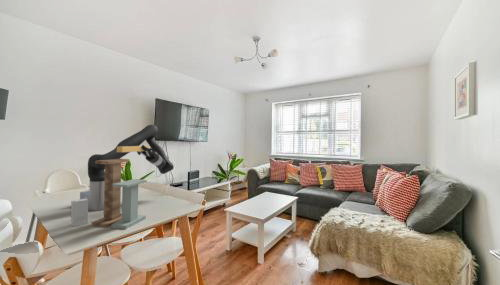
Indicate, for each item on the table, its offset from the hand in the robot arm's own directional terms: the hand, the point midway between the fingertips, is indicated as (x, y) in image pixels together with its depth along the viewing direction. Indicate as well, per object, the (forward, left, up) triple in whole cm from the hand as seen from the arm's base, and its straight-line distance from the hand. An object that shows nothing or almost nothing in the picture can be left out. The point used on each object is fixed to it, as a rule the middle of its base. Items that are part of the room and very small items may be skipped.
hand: (139, 146), depth 125 cm
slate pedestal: (+10, -19, -39) cm, 44 cm away
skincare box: (-12, -26, -39) cm, 48 cm away
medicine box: (-38, +2, -39) cm, 55 cm away
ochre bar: (0, -4, -3) cm, 5 cm away
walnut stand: (0, -19, -39) cm, 43 cm away
